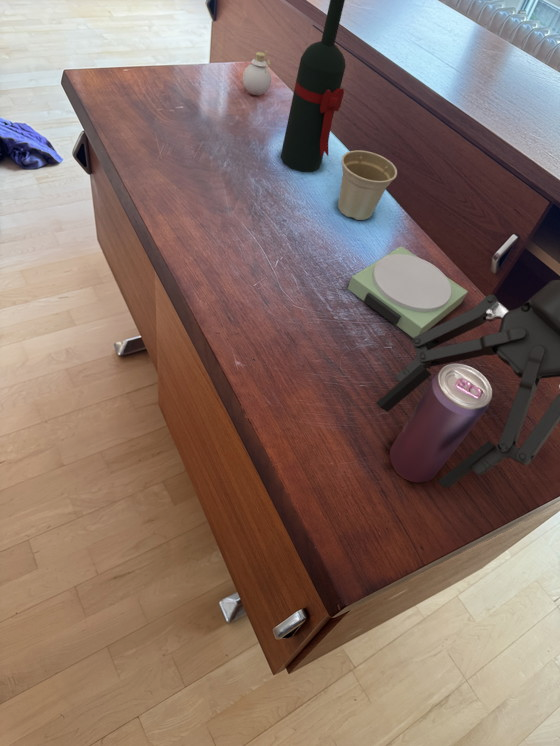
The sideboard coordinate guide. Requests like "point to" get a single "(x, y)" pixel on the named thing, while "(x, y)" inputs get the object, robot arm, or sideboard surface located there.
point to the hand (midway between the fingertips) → (411, 444)
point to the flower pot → (363, 182)
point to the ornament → (257, 75)
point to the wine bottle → (315, 98)
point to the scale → (407, 291)
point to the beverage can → (440, 421)
